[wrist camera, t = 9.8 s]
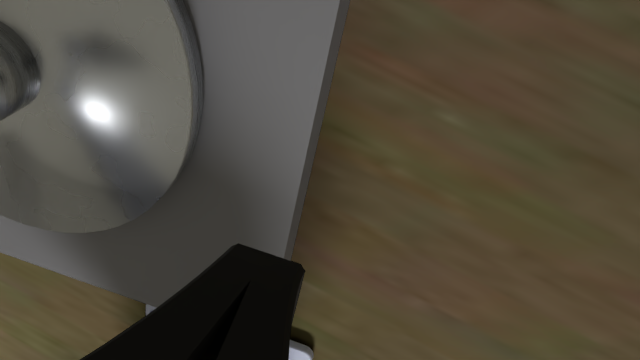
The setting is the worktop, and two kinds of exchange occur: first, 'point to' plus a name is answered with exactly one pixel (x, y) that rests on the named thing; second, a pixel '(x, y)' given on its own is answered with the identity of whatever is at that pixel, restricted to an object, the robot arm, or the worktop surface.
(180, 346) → the robot arm
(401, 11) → the worktop surface
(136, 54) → the dial
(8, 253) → the dial plate
